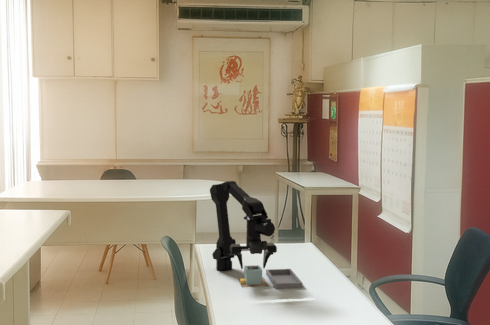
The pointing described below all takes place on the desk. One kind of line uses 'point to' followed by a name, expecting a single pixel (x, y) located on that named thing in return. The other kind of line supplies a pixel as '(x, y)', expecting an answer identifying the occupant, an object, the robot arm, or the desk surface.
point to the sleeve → (252, 276)
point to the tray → (283, 279)
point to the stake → (256, 284)
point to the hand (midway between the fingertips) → (252, 268)
